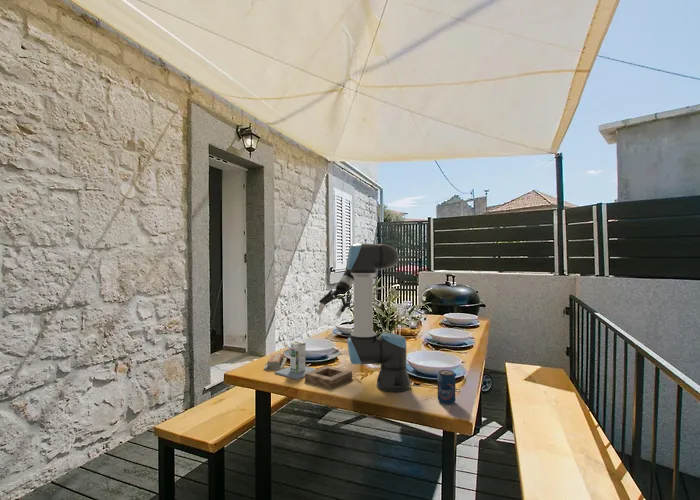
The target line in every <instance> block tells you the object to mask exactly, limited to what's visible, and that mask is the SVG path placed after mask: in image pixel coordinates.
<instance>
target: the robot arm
mask: <svg viewBox="0 0 700 500" xmlns="http://www.w3.org/2000/svg"><path fill="white" fill-rule="evenodd" d="M399 260H400V254H399V252H398V250H397V249H396V248H395V247H394V246H391V245H389V244H386V243H353V244H351V245H350V246H349V249H348V254H347V260H346V265H345V266H346V267H345V271H344V273H343V275H342V276H341V277H340V280H339V282H337V284H336V287H335V290H332V289H330V290H329V291H328V292H327V294H325V295H324V296H323V297H321V298H320V300H319V303H320V305H319V306H318V309H317V310H316V314H317V315H318V316H321V314H322V313H323V311H324V310H325V307H326V305H327V304H329V303H330V302H332V301H333V300H336V299H338V300H341V303H342V304H341V305H340V307H339V309H338V310H337V312H336V314H335V315H336V317H337V318H338V319H339V318H341V316H342V314H343V313H344V312H345V310H346V309H347V308H350V307H351V296H352V293H351V292H350V290H351V288H352V286H353V331H351V332H350V337H348V338H347V339H346V342H347V351H348V356H349V357H348V358H349V360H350V363H351V364H352V365H360V366H361V365H377V364H380V368H379V369H380V370H379V373H378V375H377V379H376V387H377V388H378V389H379V390H381V391H385V392H389V393H401V392H406V391H409V390H410V389H411V379H410V376H409V373H408V370H407V339H406V338H405V337H404V336H403V335H401V334H400V335H399V334H397V333H391V332H381V333H380V336H377V333H376V331H374V316H373V315H374V310H373V309H374V308H373V307H374V303H373V302H374V301H373V300H374V298H373V297H374V295H373V294H374V293H373V292H374V290H373V288H374V285H373V283H374V282H373V278H374V276H375V275H376V274H377V271H382V270H386V269H391V268H393V267H395V266H397V265H398V263H399ZM347 291H348V293H349V294H350V297H348V296H349V295H346V296H345V295H344V298H337V295H338V294H345V293H346V292H347ZM345 302H349V303H346V304H344V303H345Z"/></svg>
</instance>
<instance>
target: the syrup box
mask: <svg viewBox="0 0 700 500" xmlns="http://www.w3.org/2000/svg"><path fill="white" fill-rule="evenodd" d="M306 345H307V344H306V342H304V341H300V340H294V341H291V342H290V348H289V349H290V357H289V361H290V362H289V364H290V366H289V367H290V371H293V372H296V373H299V372H302V371H305V366H306V347H307V346H306Z"/></svg>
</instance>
